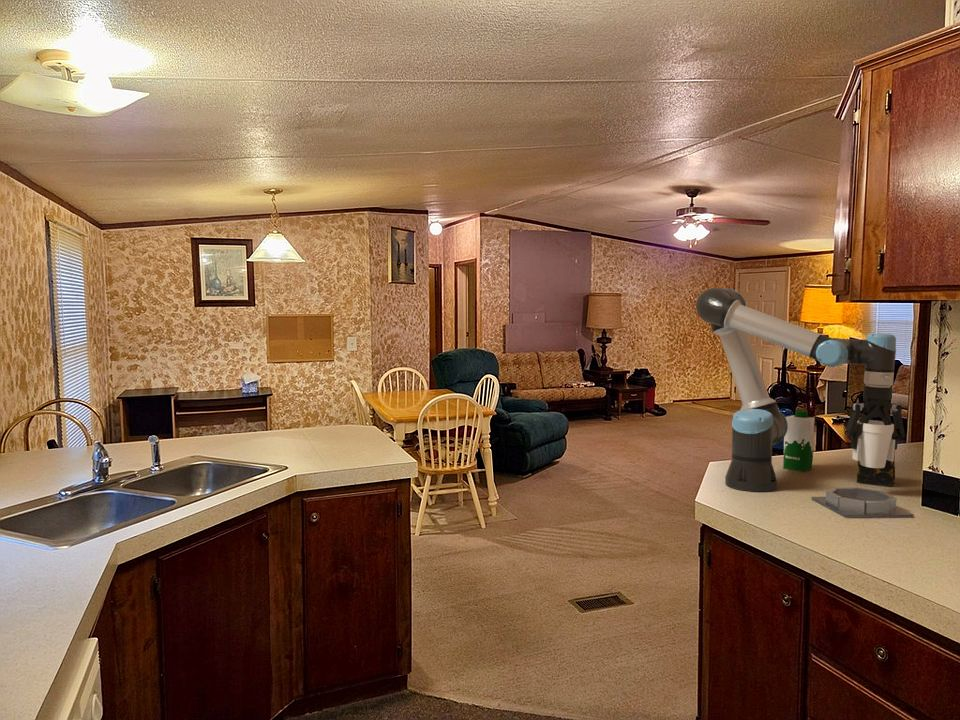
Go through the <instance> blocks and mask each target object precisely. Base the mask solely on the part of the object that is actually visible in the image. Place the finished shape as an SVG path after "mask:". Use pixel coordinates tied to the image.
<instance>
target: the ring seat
mask: <svg viewBox="0 0 960 720" xmlns="http://www.w3.org/2000/svg"><path fill="white" fill-rule="evenodd" d="M811 500H812V501H814V502H815V503H817V504H819V505H821V506H822V507H825V508H827V509H829V510H830V511H832V512H834V513H836V514H838V515H840V516H842V518H843V517H844V518H846V519H880V518H882V519H883V518H884V519H889V518H890V519H891V518H892V519H893V518H894V519H895V518H897V519H899V518H901V519H902V518H905V519H906V518H911V519H912V518H915V516H914V514H913V513H911V512H909V511H907V510H904V509H902V508H900V507H898V506H897V497H896V496H894V495H892V494H889V493H887V492H884V491H882V490H876V489H869V488H863V487H858V486H857V487H856V486H852V487H851V486H849V487H848V486H843V487H842V486H836V487H835V486H834V487H831V488H830V489H827V490H826V491H825V496H811Z"/></svg>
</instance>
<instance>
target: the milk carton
mask: <svg viewBox="0 0 960 720" xmlns="http://www.w3.org/2000/svg"><path fill="white" fill-rule="evenodd" d="M794 413H795V414H794V415H789V416H785V417H786V419H787V423H788V430H787V433H786V435H785V437H784V438H783V461H782V463H783V464H782V465H783V466H782V469H785V470H791V471H795V472H796V471H797V472H803V473H804V472H807V471H810V470H811V469H813V459H814V439H815V437H814V435H815V420H816V418H815V417H814V416H813V417H812V416H809V411H808V410H803V409H802V410H801V409H800V410H795V412H794Z"/></svg>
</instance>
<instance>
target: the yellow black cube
mask: <svg viewBox="0 0 960 720" xmlns="http://www.w3.org/2000/svg"><path fill="white" fill-rule="evenodd" d="M895 455H896V450H895V451H894V462H892V461H889V460H886V464H885V467H884V468H870V467H865V466H862V465H860V461H857V470H856V471H857V472H856V483H858V484H863V485H864V484H865V485H870V486H871V485H873V486H880V487H891V488H893V487H894V485H895V480H896V467H895Z"/></svg>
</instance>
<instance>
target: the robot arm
mask: <svg viewBox="0 0 960 720" xmlns="http://www.w3.org/2000/svg"><path fill="white" fill-rule="evenodd" d="M695 311H696V313H697V316H698V317H699V318H700V319H701V320H702V321H703V322H705V323H708V324H710V327H711V330H712V333H713V334H714V335H716V336H718V337H719V338H720V341H721V345H722V347H723V351H724V355H725V356H726V360H727V362H728V365H729V369H730V371H731V374H732V375H731V376H732V377H733V380H734V383H735V386H736V389H737V393H738V395H739V399H740V400H741V404H742V405H741V407H740V409H739V410H738V411H735V412H734V414H733V416H732V421H731V431H732V432H731V434H732V435H731V461H730V463H729V467H728V470H727V472H726V474H725V481H724V482H725V485H726V486H727V487H729V488H732V489H735V490H741V491H747V492H761V493H762V492H772V491H775V490H777V489H778V479H777V476H776V472H775V469H774V466H773V462H772V461H773V446H775V445H777V444H779V443H780V442H782V441H783V440H784V437H785V435H786V433H787V430H788V423H787V419H786V417H787V416H785V414H784V413H783V412H782V411H780V409H779V406H778V403H777V401H776V400H775V399H773V398H772V397H770V395H769V393H768V389H767V386H766V383H765V381H764V378H763V375H762V373H761V369H760V367H759V364H758V361H757V358H756V354H755V351H754V349H753V347H752V343H751V341H750V338H749V335H751V336H754V337H756V338H759V339H761V340H764V341H767V342H768V343H771V344H774V345H776V346H779V347H781V348H785V349H787V350H790V351H793V353H798V354H800V355H801V356H802V355H803V356H805V357H808V358H810V359H812V360H815V361H818V362H819V363H820V364H821V365H823V366H826V367H829V368H835V367H840V366H842V365H844V364H845V365H846V364H847V365H864V375H863V376H864V377H863V383H864V384H865V385H864V386H863V389H862V390H863V391H862V398H863V400H862V402H861V403H854V402H853V403H852V404H851V413H850V416H849V418H848V421H847V425H846V428H845V431H844V435H845V436H848V437H849V438H850V449H852V458H851V459H852V460H854V461H860V452H861V439H859V436H860V435H861V433H862V432H863V423H866V424H868V422H869V420H873V418H880V419H881V421H883V423H884V425H891V424H894V432H893V433H892V438H891V442H890V446H889V451H888V455H887V459H886V460H889V461H892V462H894V451H895V452H896V450H897V449H898V441H899V440H901V438H905V437H906V434H905V433H906V432H905V429H904V421H903V417H902V410H903V406H902V405H901V404H899V403H894V404H893V403H892V400H893V393H894V389H893V387H892V386H893V385H894V375H895V364H896V355H897V354H896V353H897V338H896V336H895V335H893V334H891V333H890V334H889V333H868V334H867V335H866V339H853V338H838V337H833V338H832V337H830V336H827V335H824V334H821V333H819V332H816V331H813V330H810V329H808V328H805V327H802V326H800V325H797V324H794V323H792V322H789V321H787V320H785V319H784V320H783V319H781V318H778V317H775V316H773V315H770V314H767V313H765V312H762V311H760V310H757V309H754V308H751V307H749V306H747V302H746V300H745V298H744V296H743V295H742V294H741V293H740V292H738V291H737V290H734V289H732V288H718V287H712V288H708V289H706V290H704V291H702V292H701V293H700V294H699V296H697V299H696V301H695ZM862 411H863V412H862ZM890 411H891V415H892V417H891V415H890V413H889V412H890ZM861 412H862V413H861ZM860 415H861V417H860ZM859 418H860V419H859ZM858 420H859V422H861V423H862V424H859V422H858ZM892 420H893V421H892ZM857 422H858V423H857Z"/></svg>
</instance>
